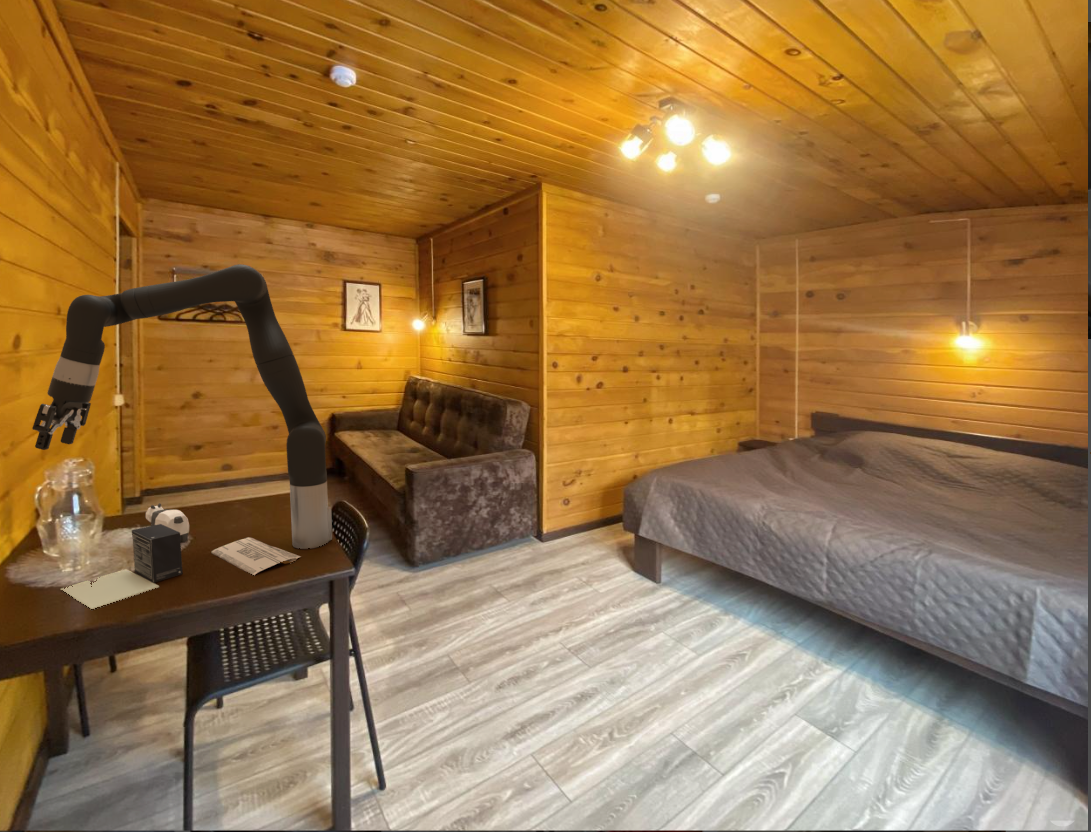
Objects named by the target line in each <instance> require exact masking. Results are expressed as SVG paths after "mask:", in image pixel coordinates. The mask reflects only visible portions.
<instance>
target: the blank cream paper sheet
mask: <svg viewBox="0 0 1091 832" xmlns="http://www.w3.org/2000/svg"><path fill="white" fill-rule="evenodd" d="M99 577H100V578H99ZM97 578H98V579H97V581H96V579H95V580H94V581H96V582H94V583H93V582H92V585H91V584H90V583H91V582H90V581H88V580H84V581H81V582H78V583H74V584H72V586H73V587H72V586H71V585H69V587H68V586H66V588H65V589H64V587H61V588H60V591H61V590H63V591H64V592H66V593H67V594H66V593H65V594H66V595H68V594H69V595H70V596H69V595H68V596H69V597H71V596H72V597H73V598H72V597H71V598H72V599H74V600H75V599H76V601H77V602H78V601H79V602H78V603H80V602H81V603H80V604H82V605H83V604H84V605H83V606H85V605H86V606H87V607H86V606H85V607H86V608H88V607H89V608H90V609H89V608H88V609H89V610H91V609H94V610H96V609H95V608H97V607H100V608H102V607H101V606H103V605H106V606H108V605H107V604H109V605H111V604H110V603H112V604H114V603H113V602H115V603H117V602H116V601H118V602H120V601H122V599H123V600H126V599H129V598H132V597H134V595H135V596H138V595H140V593H141V594H144V593H146V591H147V592H150V591H153V590H155V588H156V589H158V588H160V585H158V584H156V583H152V582H151V581H149V580H147V579H146V578H144V577H142V576H141V575H139V574H137V573H136V572H134V571H133V572H132V571H131V570H129V569H126V568H124V569H121V570H118V571H115V572H111V573H108V574H104V575H102V576H98V577H97ZM91 586H92V587H91ZM67 587H68V588H67ZM152 589H153V590H152ZM149 590H150V591H149ZM63 591H62V592H63ZM64 592H63V593H64ZM143 592H144V593H143ZM131 596H132V597H131ZM128 597H129V598H128ZM125 598H126V599H125ZM119 600H120V601H119ZM103 607H104V606H103ZM97 609H98V608H97Z"/></svg>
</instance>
